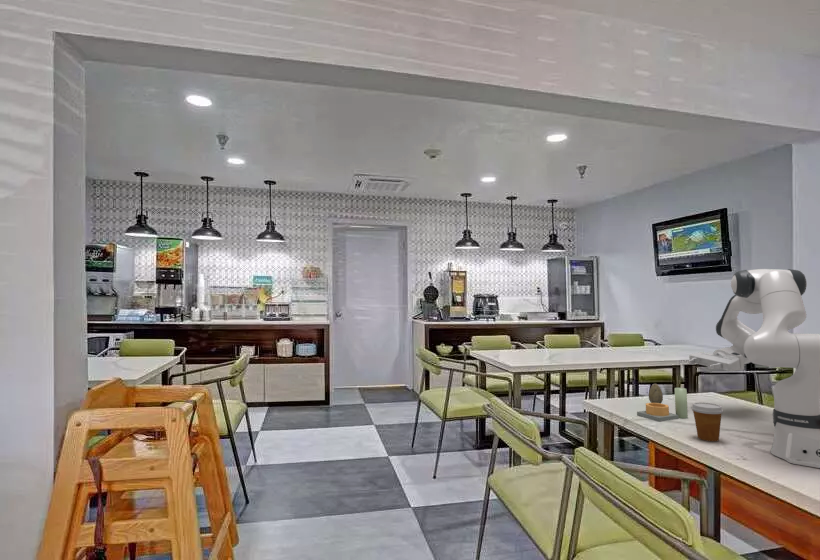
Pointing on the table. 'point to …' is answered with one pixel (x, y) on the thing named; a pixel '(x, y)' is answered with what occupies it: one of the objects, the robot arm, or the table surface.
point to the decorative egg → (655, 394)
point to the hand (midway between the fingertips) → (699, 365)
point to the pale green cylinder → (681, 402)
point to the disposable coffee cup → (707, 420)
